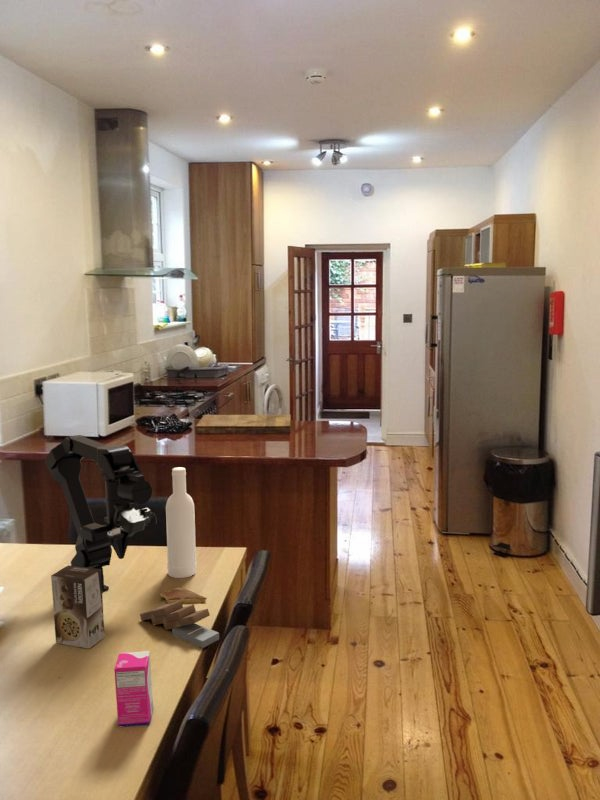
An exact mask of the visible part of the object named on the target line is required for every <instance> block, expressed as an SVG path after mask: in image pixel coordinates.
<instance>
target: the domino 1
mask: <svg viewBox="0 0 600 800" xmlns="http://www.w3.org/2000/svg"><path fill="white" fill-rule="evenodd" d="M183 607H184V606H183V603H181V601H178V602H174V603H170V604H167V603H166V604H163V605H159V606H155V607H154V608H151V609H149V610H147V611H144V612H142V613H140V614H139V616H140V620H141V621H142V622H143V621H147V620H151V619H152V618H155V617H159V616H163V615H167V614H169V613H172V612H174V611H176V610H178V609H180V608H183Z"/></svg>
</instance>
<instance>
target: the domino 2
mask: <svg viewBox="0 0 600 800" xmlns="http://www.w3.org/2000/svg"><path fill="white" fill-rule="evenodd" d="M196 611H197V610H196V607H195V604H191V605H187V606H186V605H185V606H183V608H180V609H178V610H176V611H174V612H172V613H169V614H167V615H163V616H159V617H155V618H151V619H150V620H151V623H152V626H157V625H162V624H163V623H165V622H169V621H173V620H177V619H181V618H183V617H185V616H187V615H189V614H191V613H193V612H196Z"/></svg>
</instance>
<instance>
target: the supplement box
mask: <svg viewBox="0 0 600 800" xmlns="http://www.w3.org/2000/svg"><path fill="white" fill-rule="evenodd" d="M151 666H152V665H151V652H150V650H144V651H143V650H142V651H133V652H131V651H130V652H119V654H118V656H117V659H116V662H115V666H114V669H113V671H114V683H115V696H116V710H117V711H116V713H117V724H118V725H117V726H118V727H119V726H124V727H136V726H135V725H141V726H149V725H151V721H152V716H153V714H154V713H153V712H154V698H153V683H152V682H153V681H152V669H151V668H152V667H151Z"/></svg>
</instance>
